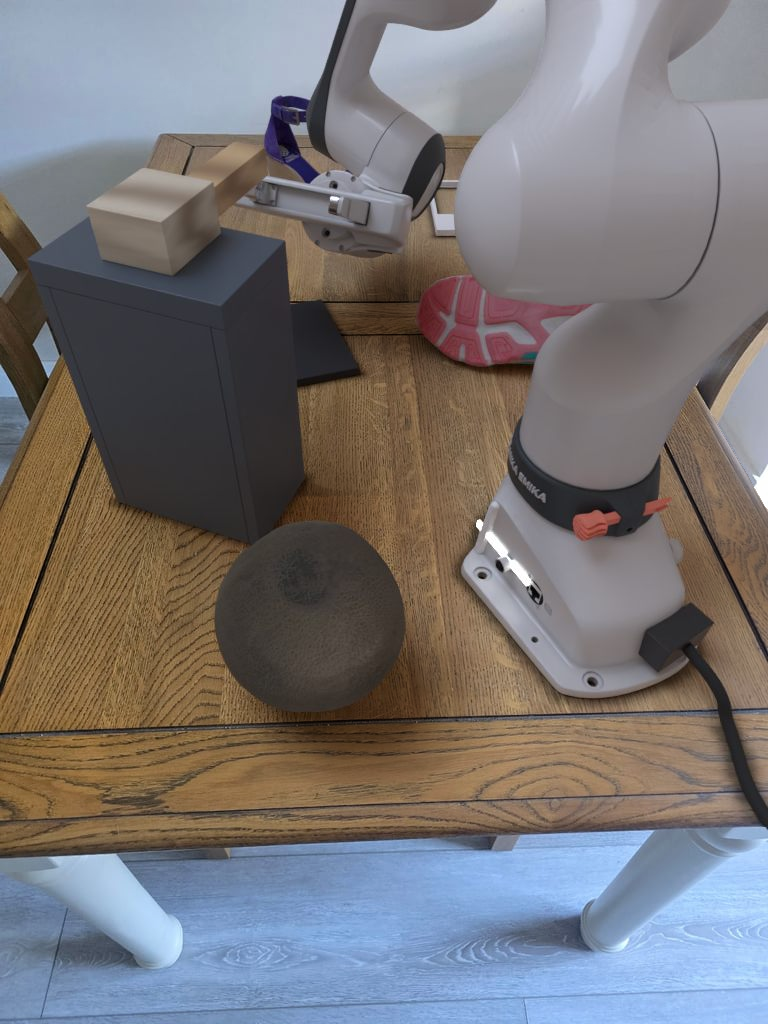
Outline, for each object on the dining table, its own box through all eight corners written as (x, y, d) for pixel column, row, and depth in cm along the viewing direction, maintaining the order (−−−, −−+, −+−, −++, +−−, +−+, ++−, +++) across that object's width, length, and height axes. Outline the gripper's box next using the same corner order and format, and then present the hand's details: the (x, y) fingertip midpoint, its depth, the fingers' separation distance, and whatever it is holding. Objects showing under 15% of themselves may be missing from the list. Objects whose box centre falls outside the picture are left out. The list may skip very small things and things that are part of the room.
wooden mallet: (222, 166, 63) (216, 117, 60) (283, 178, 62) (280, 129, 59) (101, 259, 51) (85, 205, 49) (172, 276, 50) (161, 221, 47)
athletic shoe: (631, 370, 89) (633, 271, 87) (635, 366, 80) (638, 257, 79) (426, 378, 97) (424, 288, 95) (409, 376, 88) (407, 276, 86)
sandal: (363, 229, 110) (364, 126, 99) (261, 198, 117) (250, 98, 106) (389, 210, 115) (393, 109, 104) (289, 181, 121) (282, 83, 110)
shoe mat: (358, 374, 86) (358, 367, 85) (278, 390, 83) (277, 383, 82) (321, 305, 96) (321, 298, 95) (248, 317, 93) (247, 311, 92)
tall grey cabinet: (171, 439, 77) (108, 202, 58) (305, 478, 74) (285, 240, 54) (117, 502, 71) (26, 258, 51) (260, 547, 67) (221, 305, 48)
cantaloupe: (217, 753, 54) (180, 650, 42) (239, 599, 63) (213, 482, 52) (402, 752, 54) (414, 649, 43) (396, 599, 64) (405, 483, 52)
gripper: (264, 169, 85) (204, 144, 72) (426, 200, 80) (393, 179, 67) (257, 224, 87) (197, 210, 74) (414, 258, 82) (380, 249, 70)
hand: (292, 196), depth 71 cm, fingers open, 8 cm apart
